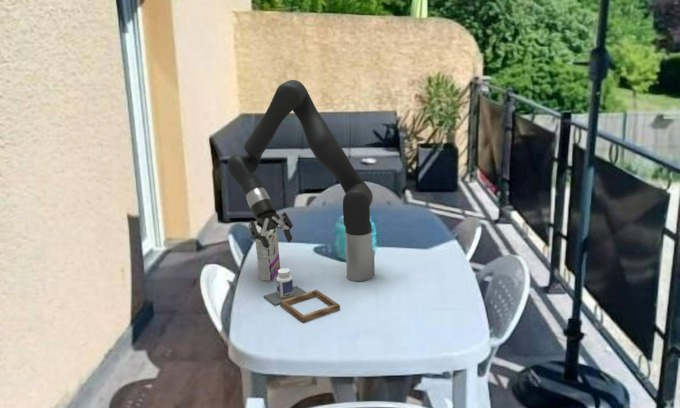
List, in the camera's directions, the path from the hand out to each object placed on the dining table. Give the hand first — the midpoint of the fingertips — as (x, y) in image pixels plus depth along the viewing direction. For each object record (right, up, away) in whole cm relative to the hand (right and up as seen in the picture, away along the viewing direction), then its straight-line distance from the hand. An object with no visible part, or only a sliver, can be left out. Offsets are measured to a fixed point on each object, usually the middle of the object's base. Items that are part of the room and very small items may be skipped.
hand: (279, 244), depth 217 cm
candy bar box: (-5, -13, +18) cm, 22 cm away
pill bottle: (+2, -17, 0) cm, 17 cm away
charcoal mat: (+2, -18, 0) cm, 18 cm away
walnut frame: (+11, -20, -8) cm, 24 cm away
